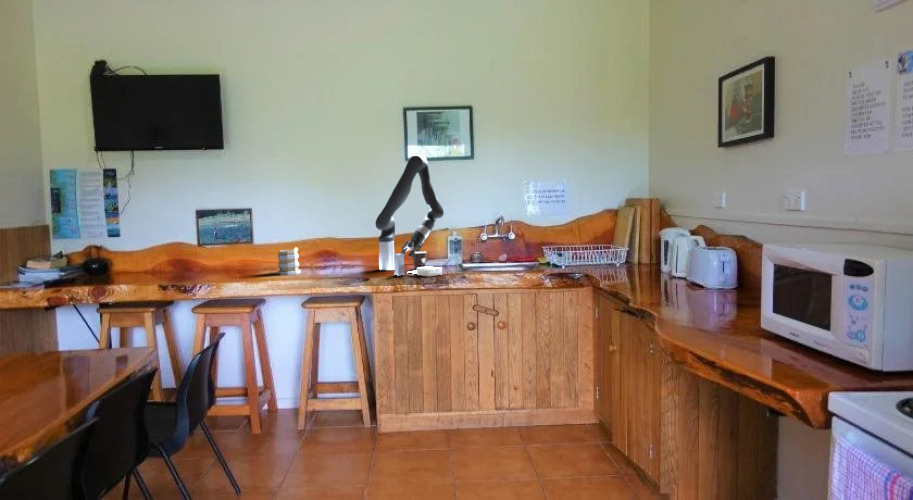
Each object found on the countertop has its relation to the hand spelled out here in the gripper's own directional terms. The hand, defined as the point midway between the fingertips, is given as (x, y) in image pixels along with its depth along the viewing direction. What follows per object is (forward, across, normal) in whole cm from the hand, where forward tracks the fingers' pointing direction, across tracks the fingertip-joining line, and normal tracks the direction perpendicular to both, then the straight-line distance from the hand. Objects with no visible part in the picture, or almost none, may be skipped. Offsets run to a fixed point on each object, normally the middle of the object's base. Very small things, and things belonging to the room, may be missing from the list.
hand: (405, 256), depth 329 cm
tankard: (+35, -65, -20) cm, 77 cm away
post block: (+2, +7, +13) cm, 15 cm away
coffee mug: (-8, -14, +23) cm, 28 cm away
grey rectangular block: (+10, 0, +4) cm, 11 cm away
